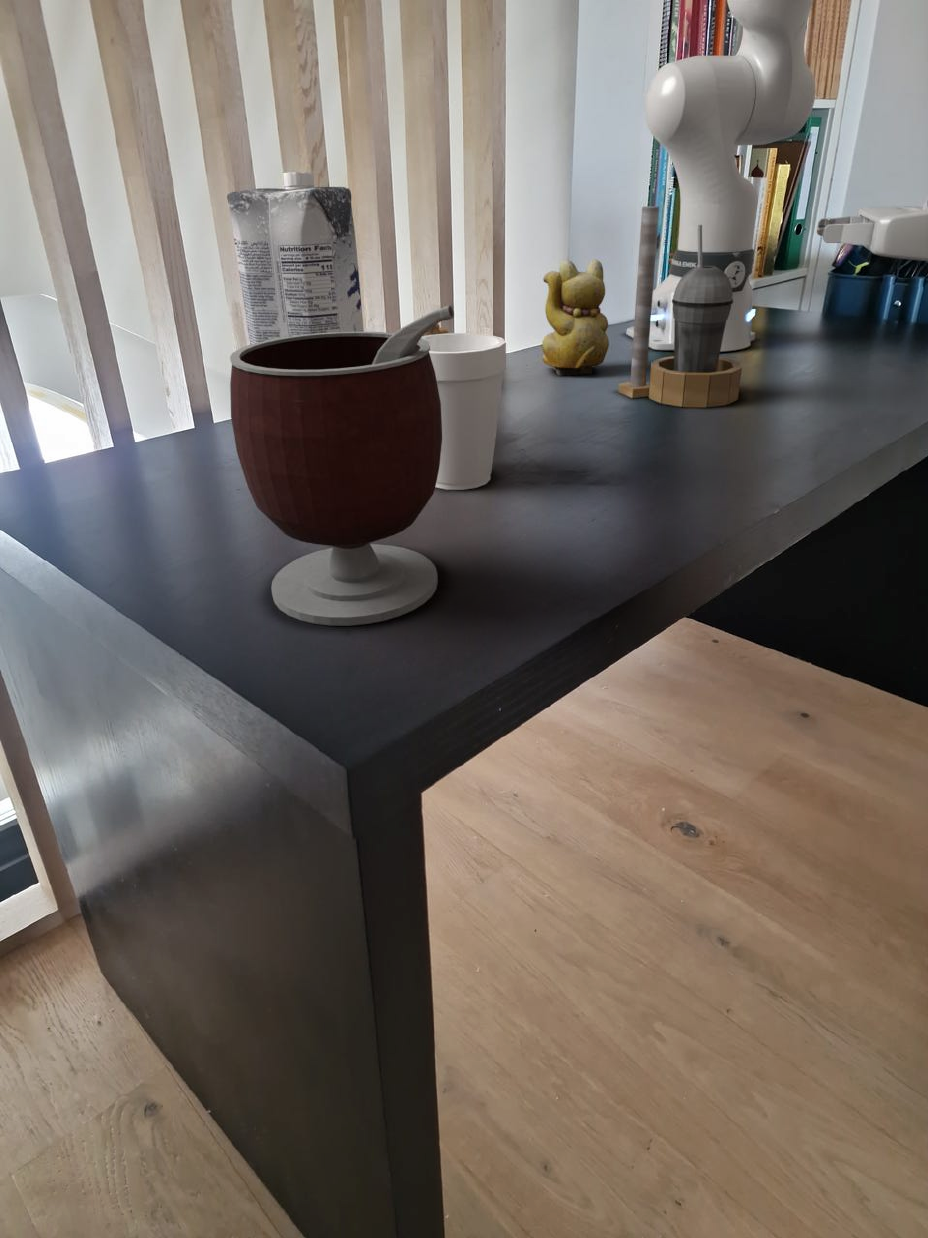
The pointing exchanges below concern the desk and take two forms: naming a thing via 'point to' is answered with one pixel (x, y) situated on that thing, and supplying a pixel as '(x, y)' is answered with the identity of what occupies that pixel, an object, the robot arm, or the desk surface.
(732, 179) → the robot arm
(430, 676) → the desk surface
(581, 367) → the decorative figurine
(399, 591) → the mate gourd
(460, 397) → the foam cup
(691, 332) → the beverage cup
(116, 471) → the desk surface
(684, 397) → the holder
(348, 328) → the juice carton
